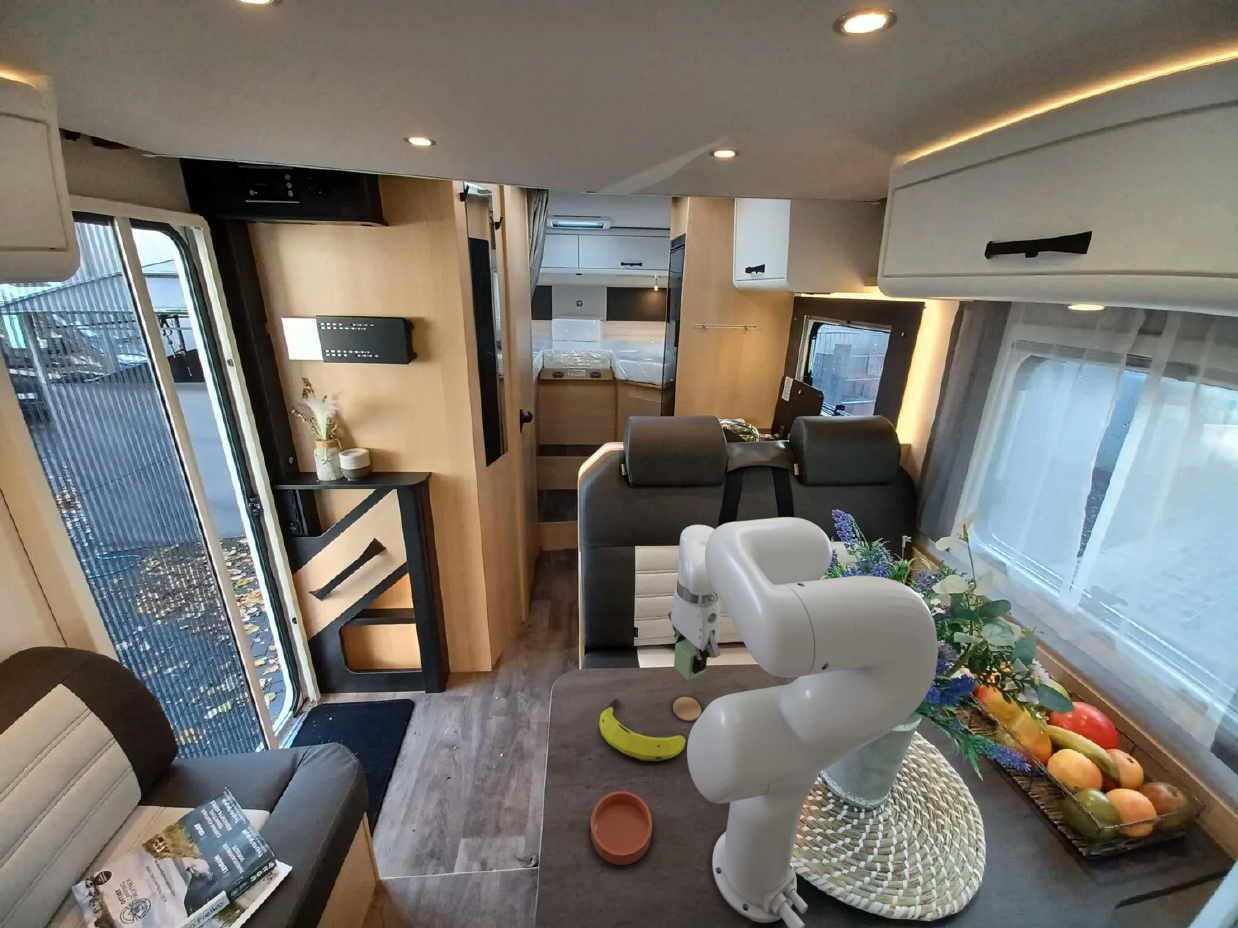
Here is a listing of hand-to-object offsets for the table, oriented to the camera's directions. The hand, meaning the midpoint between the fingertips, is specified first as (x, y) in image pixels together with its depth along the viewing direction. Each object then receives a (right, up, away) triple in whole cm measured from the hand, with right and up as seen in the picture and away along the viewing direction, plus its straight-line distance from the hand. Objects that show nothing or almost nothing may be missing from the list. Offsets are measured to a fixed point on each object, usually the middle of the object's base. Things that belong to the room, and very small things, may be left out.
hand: (690, 661), depth 99 cm
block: (0, -2, +1) cm, 2 cm away
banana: (-10, -14, -1) cm, 18 cm away
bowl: (-14, -21, -19) cm, 32 cm away
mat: (0, -12, +4) cm, 13 cm away
